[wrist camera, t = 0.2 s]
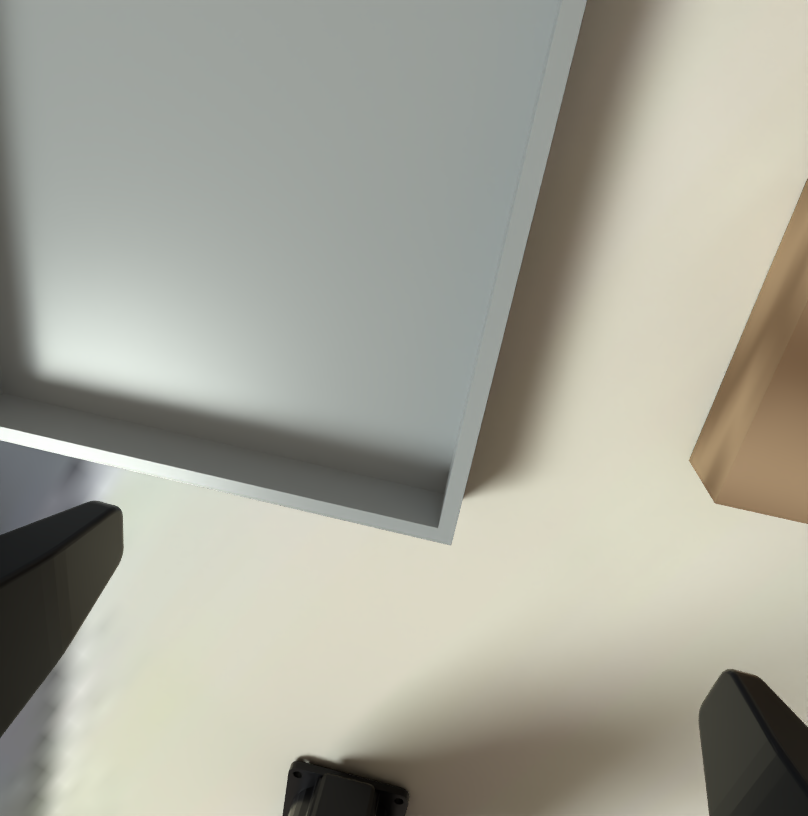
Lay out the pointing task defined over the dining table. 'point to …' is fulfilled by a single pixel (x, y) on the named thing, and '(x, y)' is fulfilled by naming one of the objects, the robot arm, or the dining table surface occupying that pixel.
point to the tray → (271, 237)
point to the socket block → (765, 395)
